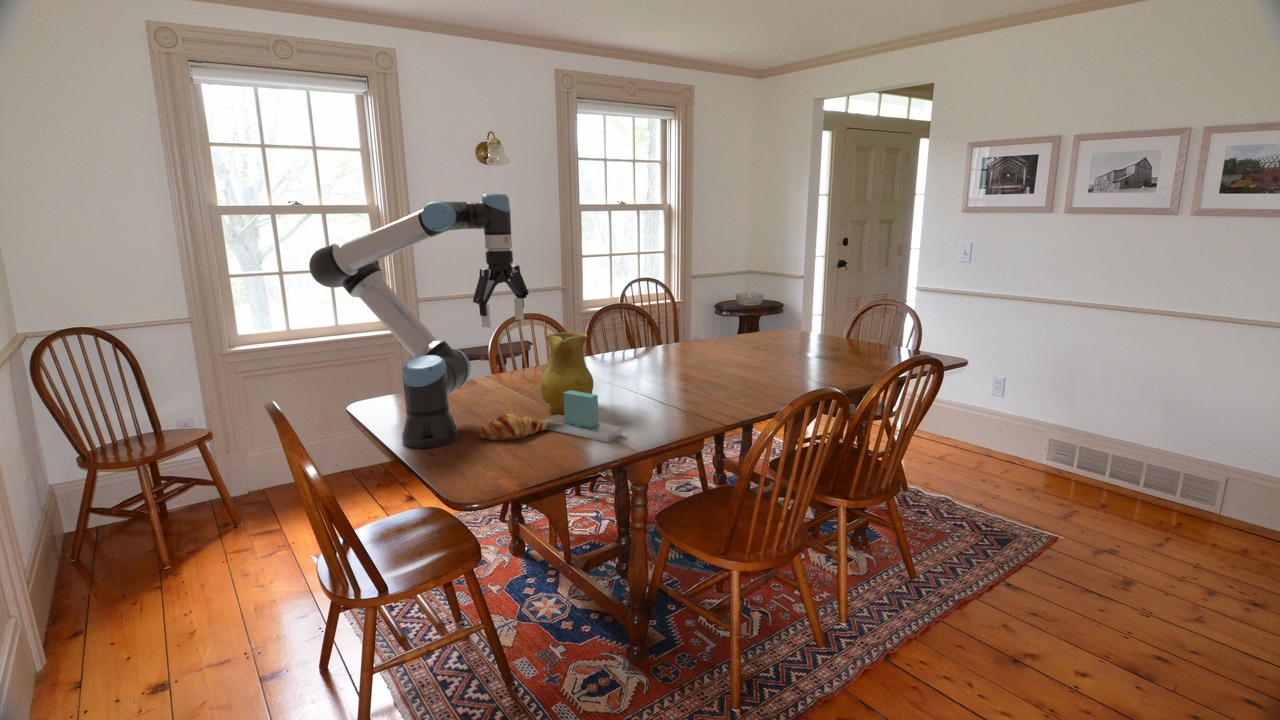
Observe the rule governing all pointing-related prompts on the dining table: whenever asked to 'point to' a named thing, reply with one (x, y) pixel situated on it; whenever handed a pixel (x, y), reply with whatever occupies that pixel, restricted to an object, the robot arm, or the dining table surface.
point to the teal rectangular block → (581, 409)
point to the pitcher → (565, 369)
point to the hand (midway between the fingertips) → (503, 323)
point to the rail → (584, 429)
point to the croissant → (510, 427)
